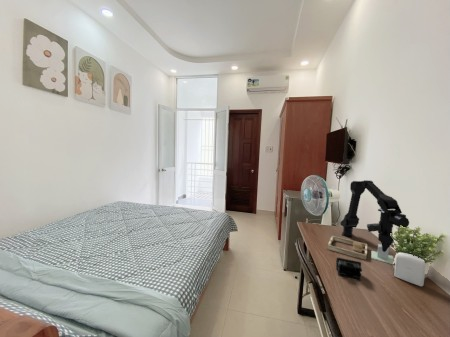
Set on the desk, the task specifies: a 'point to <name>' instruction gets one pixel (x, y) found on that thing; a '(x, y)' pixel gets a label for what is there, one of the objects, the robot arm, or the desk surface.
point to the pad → (374, 255)
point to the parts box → (381, 253)
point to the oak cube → (357, 246)
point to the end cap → (348, 268)
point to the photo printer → (410, 268)
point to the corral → (344, 251)
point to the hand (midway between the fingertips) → (383, 248)
